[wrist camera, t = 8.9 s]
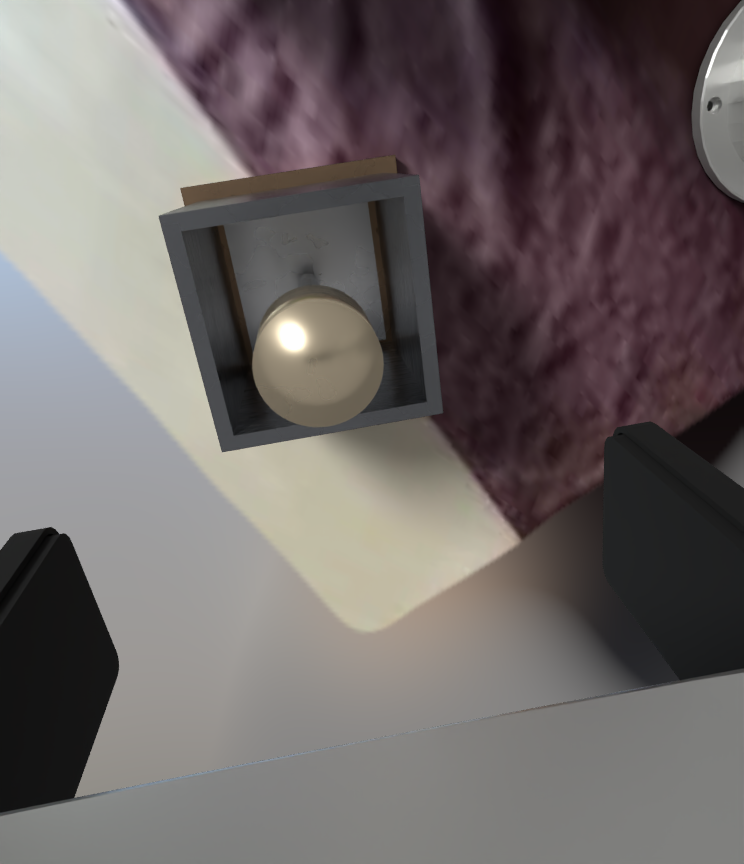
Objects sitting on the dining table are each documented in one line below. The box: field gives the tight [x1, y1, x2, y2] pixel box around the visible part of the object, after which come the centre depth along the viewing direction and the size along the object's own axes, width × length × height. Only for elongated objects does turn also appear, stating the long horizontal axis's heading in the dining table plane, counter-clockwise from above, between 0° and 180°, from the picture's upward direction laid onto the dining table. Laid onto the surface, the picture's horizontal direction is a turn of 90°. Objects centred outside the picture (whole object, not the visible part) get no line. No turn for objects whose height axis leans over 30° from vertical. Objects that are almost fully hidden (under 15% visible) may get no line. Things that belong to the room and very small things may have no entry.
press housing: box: [159, 155, 443, 452], centre depth 32 cm, size 12×12×12 cm
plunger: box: [224, 202, 386, 427], centre depth 28 cm, size 8×8×17 cm
